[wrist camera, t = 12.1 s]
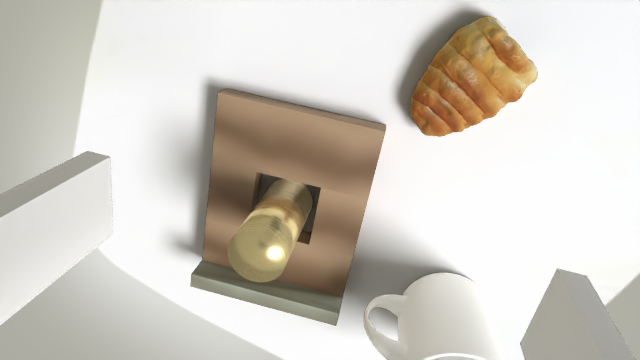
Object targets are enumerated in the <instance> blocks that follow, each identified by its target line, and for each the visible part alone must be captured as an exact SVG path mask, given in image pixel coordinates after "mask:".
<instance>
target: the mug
mask: <svg viewBox="0 0 640 360" xmlns="http://www.w3.org/2000/svg"><path fill="white" fill-rule="evenodd" d="M375 307H382V308H385V309H388V310H389V311H391V312H393V313H394V314H395V315H396V316H397V317H398V342H397V341H394V340H392V339H390V338H388V337H386V336H384V335H383V334H381V333H380V332H378V331H377V330H376V329H375V328H374V327H373V325H372V324H371V322H370V320H369V312H370V311H371V310H372V309H373V308H375ZM364 327H365V330H366V333H367V335H368V337H369V339H370V341H371V342H372V344H373V345H374V346H375V348H376V349H377V350H378V351H379V352H380V353H381V354H382V355H383V356H384V357H385V358H386V359H387V360H508V359H507V356H506V353H505V349H504V346H503V343H502V339H501V336H500V333H499V329H498V326H497V322H496V319H495V316H494V312H493V309H492V306H491V304H490V301H489V299H488V297H487V296H486V294H485V293H484V291H483V290H482V289H481V288H480V287H479V286H478V285H477V284H476V283H474V282H473V281H471V280H470V279H468V278H465V277H463V276H460V275H457V274H453V273H434V274H430V275H426V276H424V277H421V278H419V279H418V280H416V281H415V282H413V283H412V284H411V285H410V286H409V287H408V288H407V289H406V290H405V292H404V293H403V295H394V294H387V295H382V296H378V297H376V298H374V299H373V300H371V301H370V303H369V304H368V305H367V307H366V309H365V313H364Z"/></svg>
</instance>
